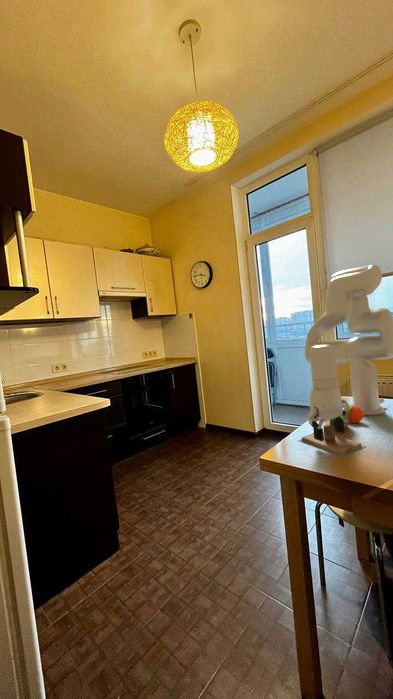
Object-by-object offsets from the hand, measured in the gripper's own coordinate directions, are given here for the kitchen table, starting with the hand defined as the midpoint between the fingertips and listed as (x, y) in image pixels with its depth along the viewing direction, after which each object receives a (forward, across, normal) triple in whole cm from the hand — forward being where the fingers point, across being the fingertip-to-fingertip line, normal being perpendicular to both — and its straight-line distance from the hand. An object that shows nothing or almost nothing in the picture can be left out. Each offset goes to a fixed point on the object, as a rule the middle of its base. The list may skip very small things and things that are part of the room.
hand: (329, 435), depth 93 cm
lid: (+3, 0, 0) cm, 3 cm away
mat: (+3, 0, 0) cm, 3 cm away
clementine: (+4, -23, -8) cm, 25 cm away
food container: (+4, -15, -7) cm, 17 cm away
